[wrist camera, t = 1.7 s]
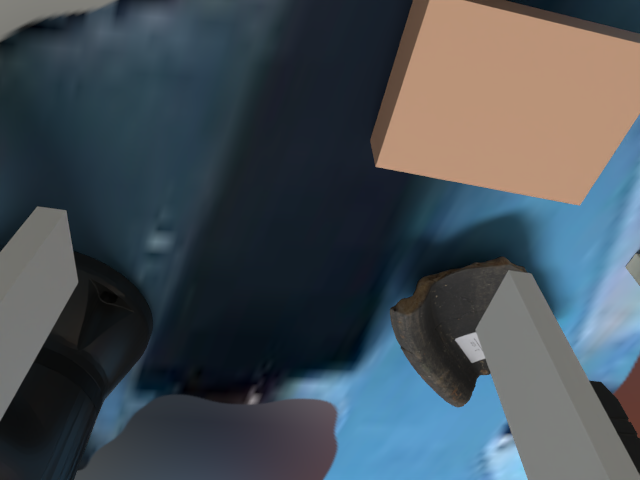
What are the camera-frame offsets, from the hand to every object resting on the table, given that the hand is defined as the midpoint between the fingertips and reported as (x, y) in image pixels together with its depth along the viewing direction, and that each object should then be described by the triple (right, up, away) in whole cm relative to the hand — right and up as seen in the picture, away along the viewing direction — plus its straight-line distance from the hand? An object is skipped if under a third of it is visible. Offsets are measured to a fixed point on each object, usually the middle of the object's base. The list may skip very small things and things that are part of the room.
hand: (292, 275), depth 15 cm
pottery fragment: (+16, -4, +28) cm, 33 cm away
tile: (+12, +11, +16) cm, 23 cm away
